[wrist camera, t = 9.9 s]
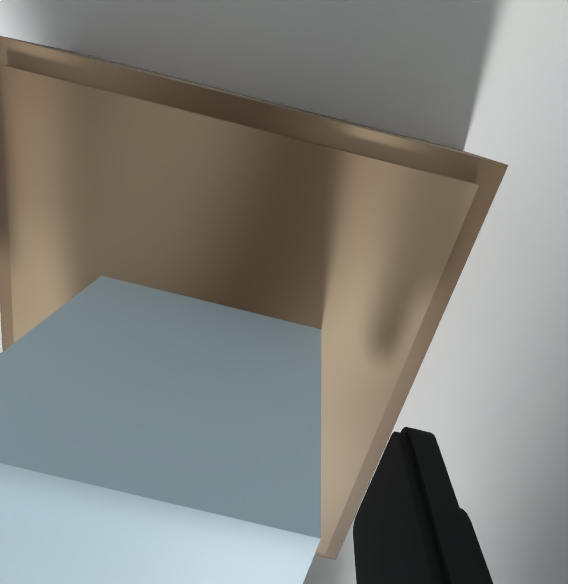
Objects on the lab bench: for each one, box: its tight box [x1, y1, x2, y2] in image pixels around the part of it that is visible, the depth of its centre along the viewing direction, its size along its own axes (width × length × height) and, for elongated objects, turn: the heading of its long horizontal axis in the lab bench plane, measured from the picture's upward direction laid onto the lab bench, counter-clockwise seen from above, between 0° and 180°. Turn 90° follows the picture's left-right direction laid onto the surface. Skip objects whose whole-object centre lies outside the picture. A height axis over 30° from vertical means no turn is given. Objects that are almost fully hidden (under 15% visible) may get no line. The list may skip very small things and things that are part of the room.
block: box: [0, 276, 321, 584], centre depth 9 cm, size 6×6×6 cm
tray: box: [0, 36, 508, 560], centre depth 13 cm, size 11×13×3 cm
